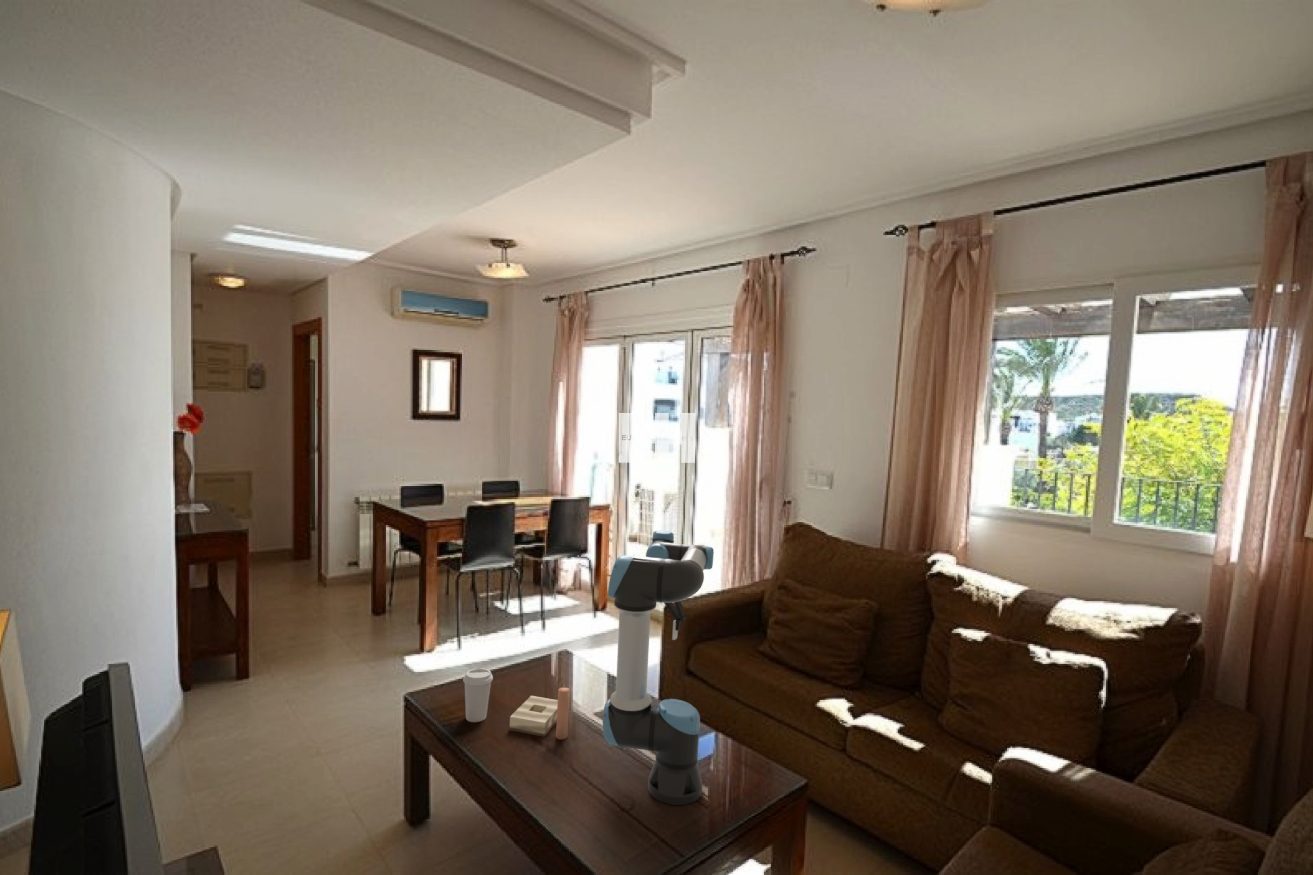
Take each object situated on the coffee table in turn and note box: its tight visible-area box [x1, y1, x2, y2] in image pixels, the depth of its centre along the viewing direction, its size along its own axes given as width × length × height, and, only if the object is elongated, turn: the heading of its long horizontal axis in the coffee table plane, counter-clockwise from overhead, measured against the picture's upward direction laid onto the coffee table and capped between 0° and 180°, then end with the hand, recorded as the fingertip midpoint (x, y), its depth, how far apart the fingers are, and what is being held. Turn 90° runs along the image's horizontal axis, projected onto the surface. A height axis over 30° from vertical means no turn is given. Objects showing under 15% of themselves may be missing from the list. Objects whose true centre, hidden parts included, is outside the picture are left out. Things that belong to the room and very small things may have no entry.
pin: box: [555, 687, 571, 740], centre depth 199 cm, size 4×4×15 cm
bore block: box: [509, 695, 558, 738], centre depth 207 cm, size 16×12×4 cm
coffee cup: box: [462, 667, 494, 723], centre depth 208 cm, size 10×10×15 cm
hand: (657, 635), depth 221 cm, fingers open, 13 cm apart
